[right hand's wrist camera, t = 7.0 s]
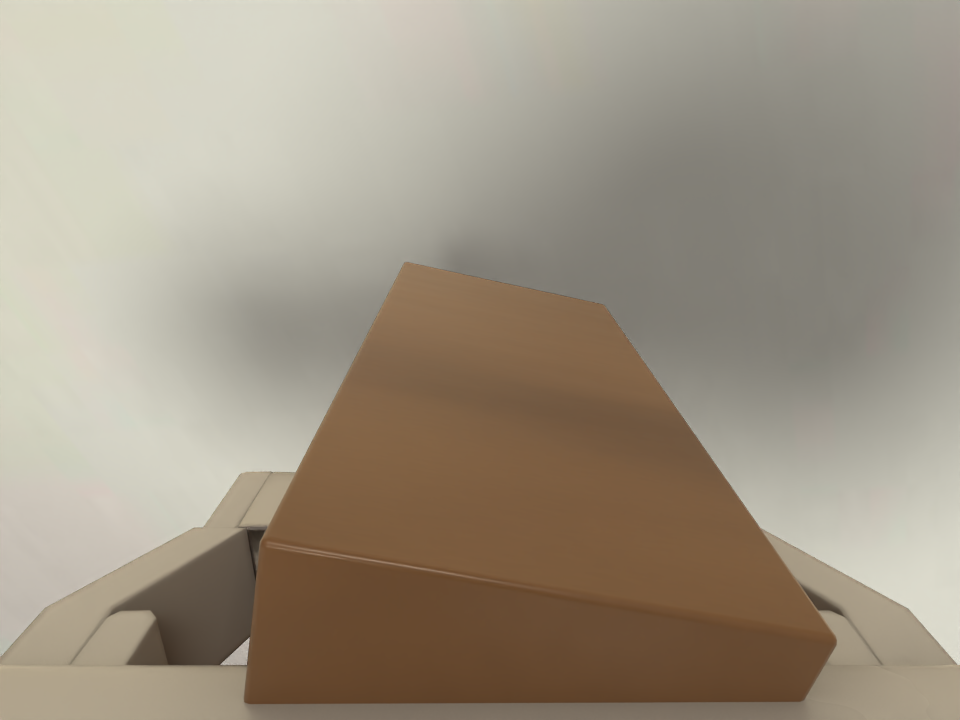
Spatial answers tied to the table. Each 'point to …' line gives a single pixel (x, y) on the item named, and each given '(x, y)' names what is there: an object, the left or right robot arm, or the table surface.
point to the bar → (516, 526)
